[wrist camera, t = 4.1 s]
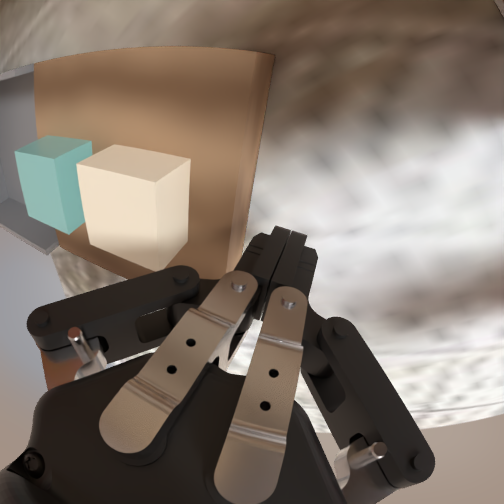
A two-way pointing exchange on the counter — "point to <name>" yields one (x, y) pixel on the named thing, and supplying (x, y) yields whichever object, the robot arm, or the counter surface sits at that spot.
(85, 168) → the ivory matte cuboid
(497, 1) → the coffee box
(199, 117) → the walnut board
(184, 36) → the counter surface
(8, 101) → the tray
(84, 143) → the upright aqua block
